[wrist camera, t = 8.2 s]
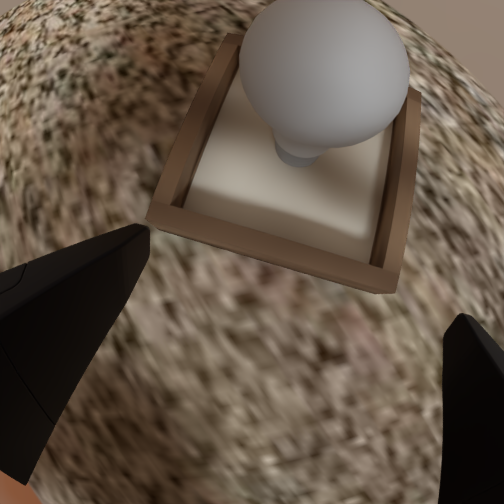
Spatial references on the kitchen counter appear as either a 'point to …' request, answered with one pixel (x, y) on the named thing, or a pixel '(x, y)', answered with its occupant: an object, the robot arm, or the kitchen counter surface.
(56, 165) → the kitchen counter surface
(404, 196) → the walnut tray
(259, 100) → the lightbulb
